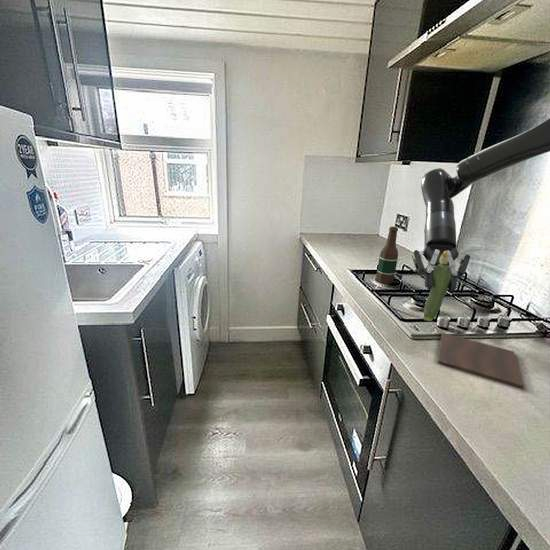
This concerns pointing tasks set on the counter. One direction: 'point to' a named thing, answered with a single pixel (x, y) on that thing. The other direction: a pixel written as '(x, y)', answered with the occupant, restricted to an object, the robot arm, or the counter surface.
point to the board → (480, 359)
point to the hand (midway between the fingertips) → (440, 289)
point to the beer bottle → (388, 259)
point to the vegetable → (438, 287)
